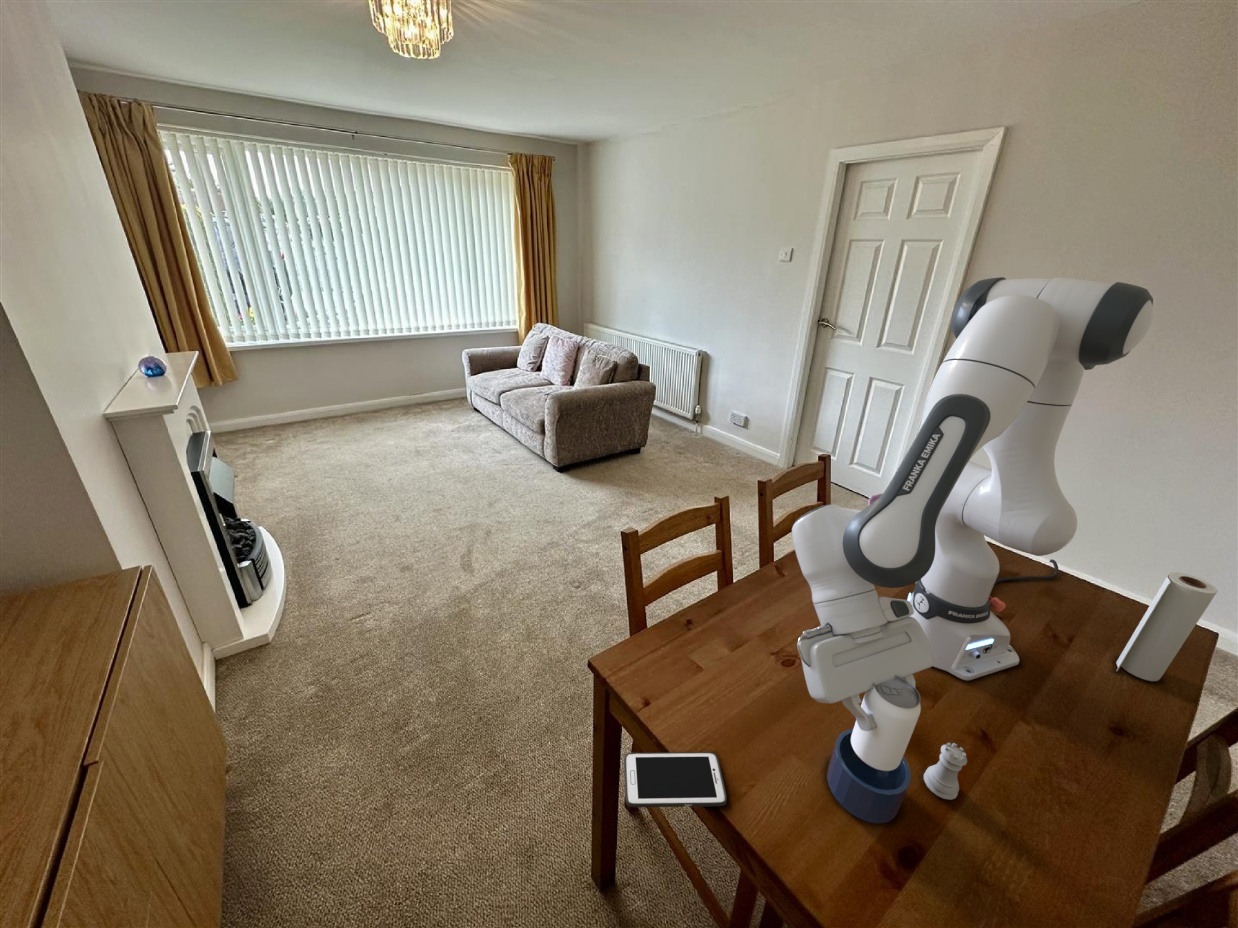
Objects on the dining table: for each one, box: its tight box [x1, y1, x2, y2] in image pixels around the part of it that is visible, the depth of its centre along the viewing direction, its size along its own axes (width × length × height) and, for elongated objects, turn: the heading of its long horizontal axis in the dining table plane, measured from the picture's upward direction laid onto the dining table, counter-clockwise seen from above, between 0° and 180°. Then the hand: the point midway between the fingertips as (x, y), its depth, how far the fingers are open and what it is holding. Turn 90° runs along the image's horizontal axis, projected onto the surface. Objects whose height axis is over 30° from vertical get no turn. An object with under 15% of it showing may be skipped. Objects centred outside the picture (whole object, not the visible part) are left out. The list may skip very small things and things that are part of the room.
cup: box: [826, 728, 912, 824], centre depth 71 cm, size 10×10×6 cm
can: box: [851, 675, 922, 771], centre depth 66 cm, size 6×6×12 cm
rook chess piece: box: [923, 742, 968, 801], centre depth 71 cm, size 4×4×8 cm
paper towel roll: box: [1115, 571, 1218, 682], centre depth 91 cm, size 7×6×21 cm
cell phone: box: [623, 751, 728, 808], centre depth 72 cm, size 8×15×1 cm, turn 92°
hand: (890, 720), depth 65 cm, fingers closed on can, 6 cm apart
